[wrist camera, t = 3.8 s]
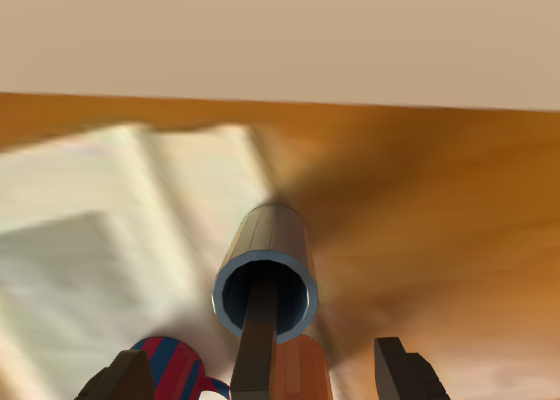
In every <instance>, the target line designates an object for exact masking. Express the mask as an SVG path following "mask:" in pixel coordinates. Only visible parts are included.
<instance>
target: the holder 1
mask: <svg viewBox="0 0 560 400" xmlns="http://www.w3.org/2000/svg"><path fill="white" fill-rule="evenodd" d="M258 260H273V261H276V262H279V263H281V275H280V293H279V311H278V329H277V344H280V343H283V342H286V341H288V340H290V339H293V338H295V337H297V336H299V335H300V334H301V333H302V332H303V331H304V330H305V329H306V328H307V327H308V326H309V325H310V324H311V322H312V321H313V318H314V316H315V313H316V311H317V308H318V304H319V301H318V287H317V281H316V275H315V269H314V263H313V258H312V252H311V246H310V240H309V234H308V230H307V227H306V225H305V223H304V221H303V219H302V218H301V217H300V216H299V215H298V214H297V213H296V212H295V211H293V210H292V209H290V208H288V207H286V206H283V205H277V204H268V205H263V206H260V207H258V208H256V209H254V210H252V211H251V212H250V213H249V214H248V215H247V216H246V217H245V218H244V220H243V221H242V223H241V224H240V226H239V228H238V230H237V233H236V235H235V237H234V239H233V241H232V243H231V245H230V248H229V250H228V252H227V254H226V256H225V258H224V260H223V263H222V265H221V267H220V269H219V271H218V273H217V275H216V278H215V282H214V285H213V289H212V300H213V306H214V311H215V314H216V315H217V317H218V318H219V320H220V321H221V323H222V324H223V326H224V327H225V328H226V329H227V330H228V331H230V332H231V333H232V334H234V335H235V336H237V337H238V338H239V339H240V338H241V333H242V329H243V324H244V320H245V315H246V311H247V306H248V302H249V297H250V293H251V288H252V284H253V280H254V275H255V271H256V266H257V262H258Z"/></svg>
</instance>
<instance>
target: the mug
mask: <svg viewBox="0 0 560 400" xmlns="http://www.w3.org/2000/svg"><path fill="white" fill-rule="evenodd" d="M130 350H145V351H146V352H147V355H148V359H149V363H150V367H151V372H152V376H153V380H154V385H155V393H154V399H153V400H199V397H200V394H201V392H202V391H213V392H216V393H219V394H221V395H222V396H224V397H225V398H227V399H228V400H230V395H229V387H230V386H228V385H227V384H226V383H224V382H222V381H220V380H218V379H215V378H211V377H207V376H205V371H204V366H203V364H202V362H201V359H200V358H199V357H198V355H197V354H196V353H195V352H194V351H193V350H192V349H191V348H190V347H189V346H187V345H186V344H184V343H182V342H180V341H178V340H175V339H172V338H167V337H153V338H148V339H144V340H142V341H140V342H138V343H137V344H135V345H134V346H133V347H132V348H131V349H130Z"/></svg>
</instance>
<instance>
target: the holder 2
mask: <svg viewBox="0 0 560 400" xmlns="http://www.w3.org/2000/svg"><path fill="white" fill-rule="evenodd" d="M274 400H333V395H332V389H331V383H330V376H329V370H328V364H327V359H326V355H325V352H324V350H323V348H322V347H321V345H320V344H319V343H318V342H316V341H315V340H314V339H312V338H310V337H308V336H305V335H299V336H297V337H295V338H293V339H290V340H288V341H286V342H283V343H280V344H277V347H276V365H275V383H274Z"/></svg>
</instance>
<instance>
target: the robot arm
mask: <svg viewBox="0 0 560 400" xmlns="http://www.w3.org/2000/svg"><path fill="white" fill-rule="evenodd" d="M374 356H375V381H376V388H377V392H378V396H379V400H451V399H450V397H449V396H448V394H446V390H445V389H444V387H443V385H442V383H441V382H439V378H438V376H437V375H436V373H435V371H434V369H433V368H432V366H431V364H430V363H428V362H427V361H426V360H425V359H424V358H423V357H422V356H420V355H419V354H418V353H406V352H405V350H404V348H403V346H402V344H401V342H400V340H399V338H398V337H382V338H375V340H374ZM154 393H155V385H154V380H153V376H152V372H151V367H150V363H149V359H148V355H147V352H146V351H145V350H124V351H121V352H120V353H119V354H118V355H117V357H116V358H115V359H114V361H113V362H112V363H111V365H110V366H109V367H105V368H104V369H102V370H101V371H100V372H99V373H97V374H96V375H95V376H94V377H92V378H91V379H90V380H89V381H88V382H87V384H86V385H85V386H84V388H83V389H82V390H81V391H80V393H79V394H78V397H76V398H75V399H74V400H153V399H154Z"/></svg>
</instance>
